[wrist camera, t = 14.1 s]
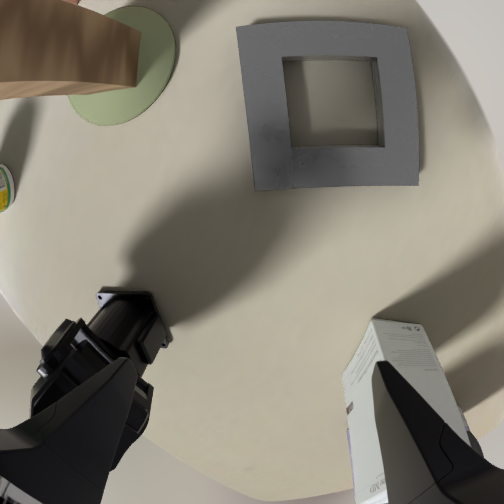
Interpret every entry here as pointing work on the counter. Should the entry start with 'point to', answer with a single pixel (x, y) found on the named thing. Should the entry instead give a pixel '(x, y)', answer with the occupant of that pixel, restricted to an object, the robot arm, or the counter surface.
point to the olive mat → (148, 73)
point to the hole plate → (337, 156)
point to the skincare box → (361, 397)
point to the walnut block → (63, 50)
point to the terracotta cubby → (72, 1)
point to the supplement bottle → (6, 188)
